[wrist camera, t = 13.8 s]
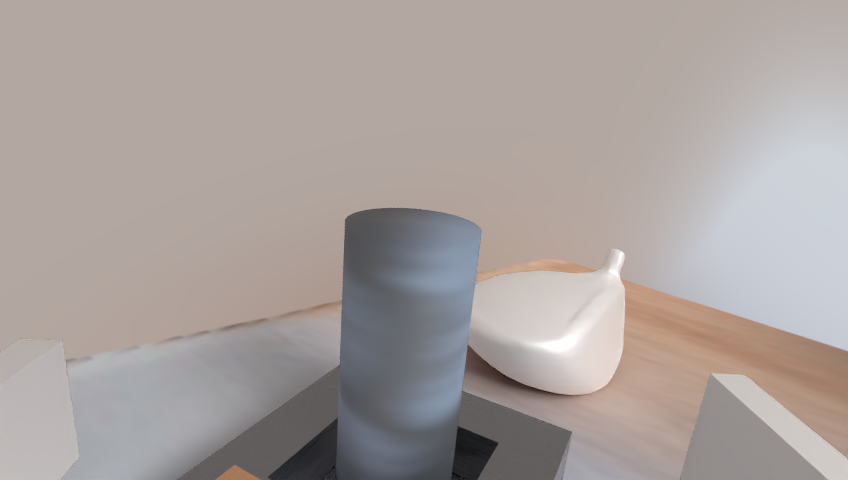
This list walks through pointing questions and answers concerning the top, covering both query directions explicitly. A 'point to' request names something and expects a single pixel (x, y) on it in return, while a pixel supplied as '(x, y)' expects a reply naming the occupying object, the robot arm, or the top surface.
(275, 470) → the socket block
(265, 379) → the top surface
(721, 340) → the top surface
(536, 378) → the driver head
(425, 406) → the peg
